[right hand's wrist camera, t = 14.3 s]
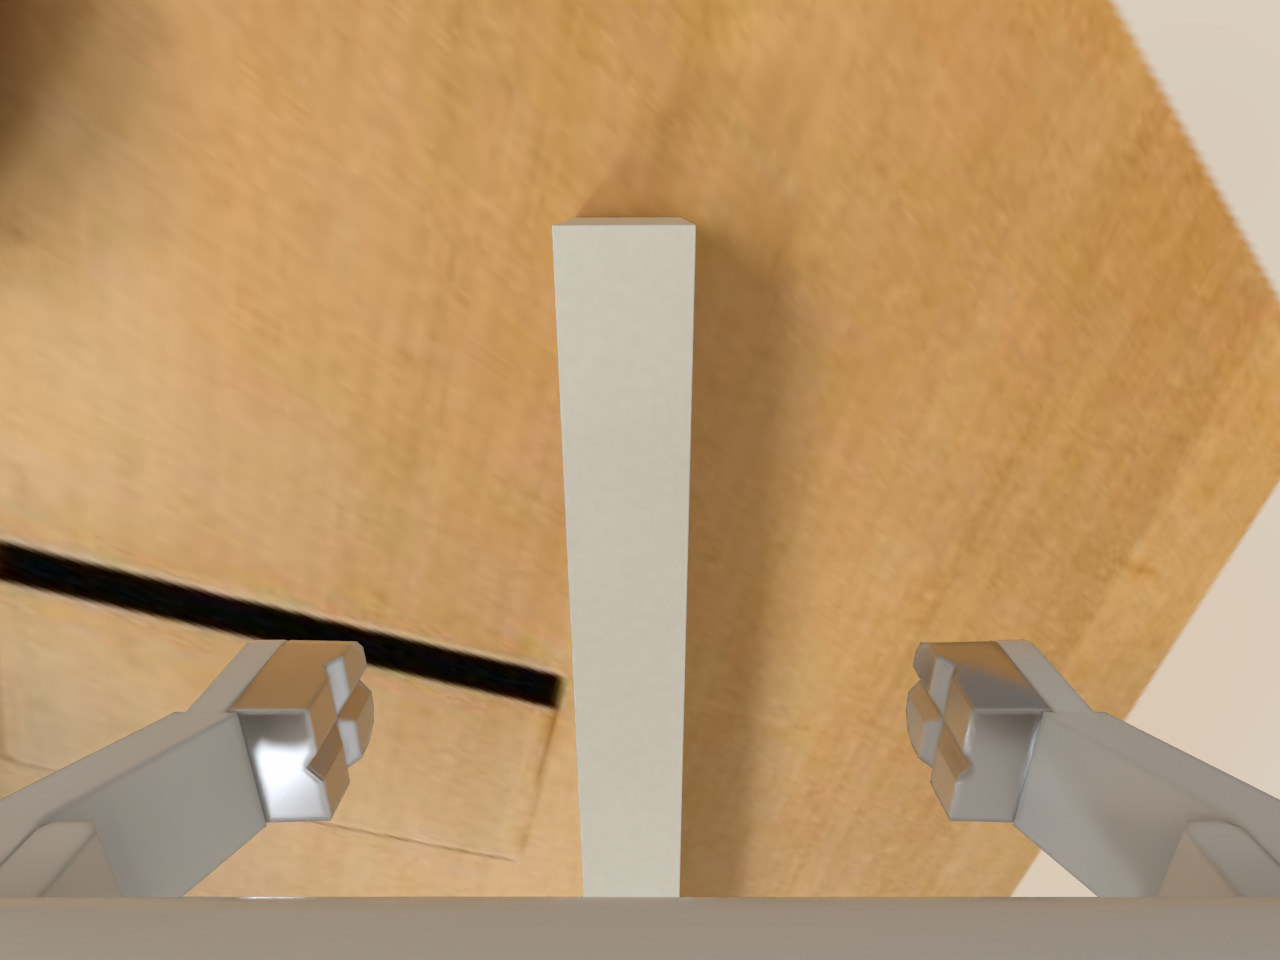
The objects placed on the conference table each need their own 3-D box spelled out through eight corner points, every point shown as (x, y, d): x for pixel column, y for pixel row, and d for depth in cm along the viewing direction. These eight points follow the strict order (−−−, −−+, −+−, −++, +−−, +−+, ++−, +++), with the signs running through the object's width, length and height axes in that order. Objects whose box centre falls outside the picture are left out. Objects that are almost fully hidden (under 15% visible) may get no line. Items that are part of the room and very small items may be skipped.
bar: (573, 217, 32) (551, 225, 24) (681, 217, 32) (696, 224, 24) (603, 1044, 54) (597, 1195, 46) (667, 1043, 54) (672, 1195, 46)
